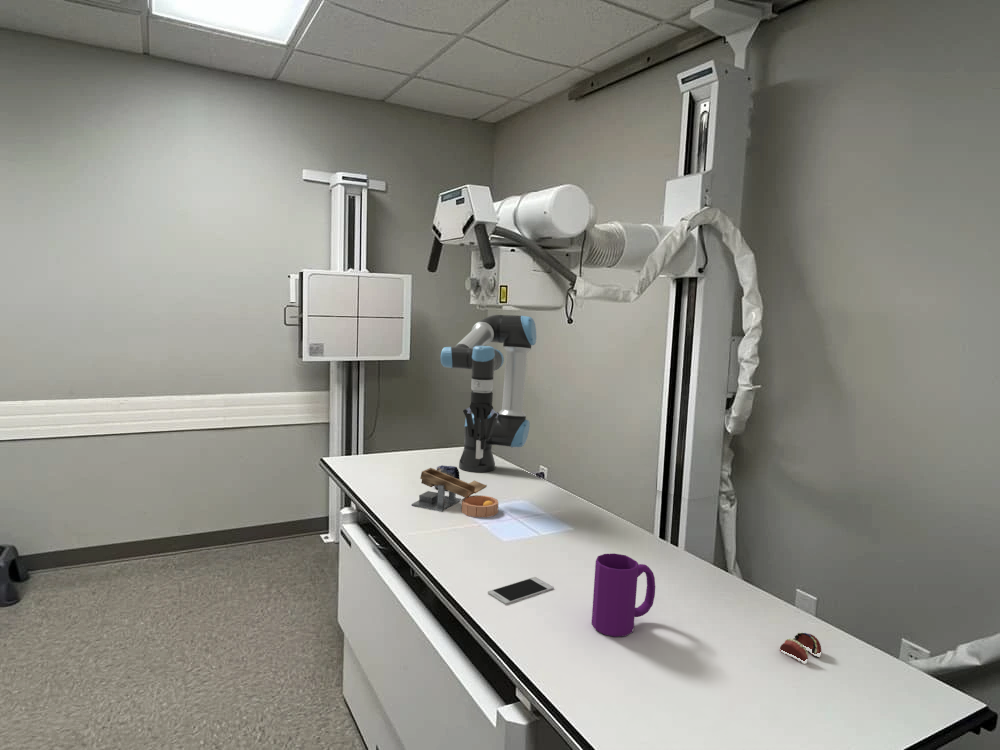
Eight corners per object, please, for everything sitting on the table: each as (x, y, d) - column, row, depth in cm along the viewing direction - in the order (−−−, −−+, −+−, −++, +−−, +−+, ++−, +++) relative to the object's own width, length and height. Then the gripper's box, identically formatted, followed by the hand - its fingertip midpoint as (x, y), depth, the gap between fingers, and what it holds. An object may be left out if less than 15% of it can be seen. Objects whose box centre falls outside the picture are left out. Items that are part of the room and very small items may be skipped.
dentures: (778, 634, 130) (800, 625, 134) (775, 653, 130) (798, 643, 135) (804, 648, 125) (826, 638, 129) (801, 668, 126) (823, 657, 130)
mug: (582, 621, 139) (587, 556, 138) (637, 608, 147) (642, 546, 145) (608, 641, 131) (613, 573, 130) (665, 627, 138) (670, 561, 137)
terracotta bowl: (471, 503, 218) (471, 493, 217) (503, 509, 213) (503, 499, 213) (455, 513, 207) (455, 502, 206) (488, 519, 202) (488, 509, 202)
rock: (461, 485, 230) (451, 460, 231) (436, 496, 231) (425, 471, 232) (467, 483, 241) (456, 459, 242) (442, 494, 241) (432, 470, 243)
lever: (418, 483, 215) (421, 471, 214) (440, 472, 229) (443, 462, 228) (465, 503, 208) (468, 491, 207) (485, 491, 222) (488, 480, 221)
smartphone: (554, 590, 155) (554, 586, 155) (505, 606, 145) (505, 603, 145) (535, 579, 160) (535, 576, 160) (486, 594, 151) (486, 591, 151)
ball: (484, 507, 211) (486, 497, 210) (494, 511, 210) (496, 501, 209) (480, 510, 208) (482, 500, 207) (489, 514, 206) (491, 504, 206)
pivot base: (411, 505, 212) (412, 483, 211) (432, 495, 225) (433, 473, 224) (441, 511, 208) (442, 488, 207) (461, 500, 220) (461, 478, 220)
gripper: (460, 390, 216) (457, 457, 219) (494, 394, 210) (491, 463, 214) (469, 387, 222) (467, 453, 225) (503, 391, 217) (500, 458, 220)
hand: (479, 457), depth 219 cm, fingers closed
